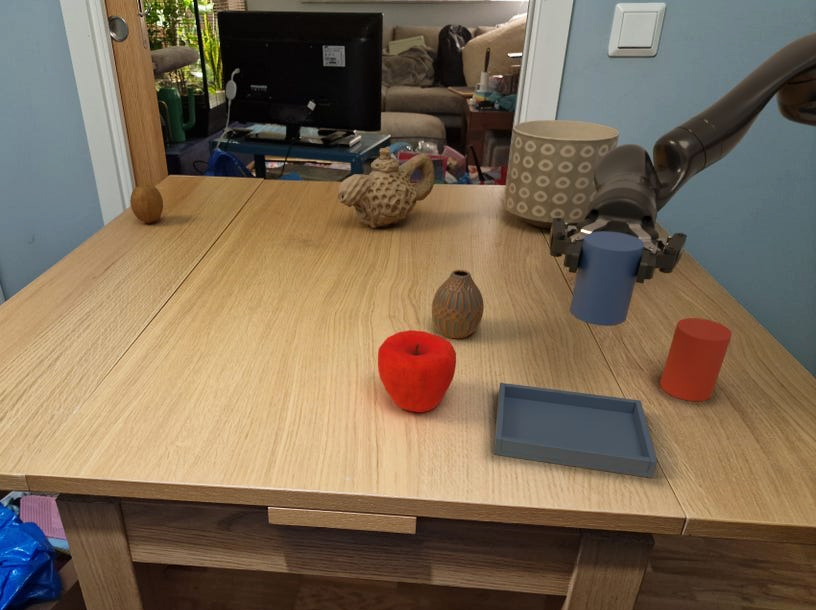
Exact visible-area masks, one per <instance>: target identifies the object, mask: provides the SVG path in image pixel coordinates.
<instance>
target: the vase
mask: <svg viewBox="0 0 816 610" xmlns="http://www.w3.org/2000/svg"><path fill="white" fill-rule="evenodd" d="M484 306H485V305H484V298H483V294H482V292H481V290H480V288H479V287H478V286H477V284H476V283H475V281H474V279H473V277H472V275H471V272H470V271H468V270H465V269H454V270H452V271H451V273H450V275H449V277H448V278H447V279H446V280H444V282H443V283H442V284H441V285H440V286H439V287H438V288H437V290H436V292H435V294H434V296H433V299H432V302H431V318H432V322H433V324H434V327H435V328H436V329H437V331H438V332H439V333H441V334H442V335H443V336H445V337H446V338H450V339H465V338H467V337H468V336H470V335H472V334H473V333H475V331H477V329H478V327H479V326H480V324H481V322H482V318H483V315H484V308H485V307H484Z"/></svg>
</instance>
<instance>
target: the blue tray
mask: <svg viewBox="0 0 816 610" xmlns="http://www.w3.org/2000/svg"><path fill="white" fill-rule="evenodd" d="M496 405H497V406H496V417H495V418H496V419H495V431H494V434H495V435H494V446H493V455H495V456H502V457H509V458H516V459H522V460H530V461H534V462H542V463H550V464H555V465H562V466H568V467H569V466H570V467H575V468H576V467H577V468H583V469H589V470H595V471H603V472H610V473H615V474H622V475H628V476H634V477H642V478H647V479H653V478H654V475H655V471H656V468H657V464H658V460H657V456H656V453H655V448H654V445H653V441H652V437H651V434H650V429H649V427H648V422H647V418H646V416H645V415H646V414H645V411H644V408H643V403H642V401H641V400H640V399H632V398H624V397H617V396H608V395H602V394H594V393H593V394H592V393H584V392H577V391H570V390H569V391H568V390H562V389H561V390H560V389H555V388H547V387H538V386H529V385H522V384H516V383H514V384H513V383H507V382H500V383H499V387H498V394H497V404H496Z"/></svg>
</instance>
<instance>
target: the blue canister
mask: <svg viewBox="0 0 816 610" xmlns="http://www.w3.org/2000/svg"><path fill="white" fill-rule="evenodd" d="M643 249H644V243H643V241H641V240H640V239H638V238H636V237H634V236H631V235H627V234H623V233H618V232H606V231H602V232H592V233H589V234H587V235H585V237H584V240H583V245H582V251H581V256H580V261H579V266H578V269H577V272H576V274H575V275H576V277H575V280H574V286H573V291H572V295H571V301H570V306H569V312H570V314H571V315H572V316H573V317H574V318H575V319H577V320H579V321H581V322H584V323H586V324H590V325H596V326H604V327H605V326H607V327H611V326H618V325H621V324H623V323H625V321H626V320H627V316H628V313H629V310H630V305H631V301H632V297H633V293H634V289H635V284H636V277H637V272H638V268H639V264H640V260H641V256H642V253H643Z"/></svg>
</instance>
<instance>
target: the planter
mask: <svg viewBox="0 0 816 610" xmlns="http://www.w3.org/2000/svg"><path fill="white" fill-rule="evenodd" d="M619 137H620V131H619V130H618V129H616V128H614V127H611V126H608V125H604V124H599V123H594V122H588V121H577V120H562V119H541V120H529V121H523V122H519V123H516V124H515V125H514V126H513V128H512V136H511V144H510V151H509V158H508V159H509V160H508V168H507V174H506V182H505V191H504V196H503V197H504V199H503V208H504V209H505V210H506V211H507V212H509V213H510V214H512V215H515V216H517V217H518V218H520V219H521V220H522V221H524V222H526V223H528V224H529V225H531V226H534V227H537V228H541V229H546V230H551V227H552V221H553V218H557V217H559V218H562V219H564V222H568V223H569V224H568V226H577V224H578V223H579V222H581V221H584V219H585V217H586V214H587V212H588V207H589V205H590V203H591V202H592V201H593V199H594V198H595V196H596V191H595V186H594V179H593V173H594V169H595V166H596V165H597V163H598V161H599V160H600V159H601V158H602V157H603V156H604V155H605V154H606V153H607V152H609V151H610V150H612V149H614V148H616V147H618V141H619Z"/></svg>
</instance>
